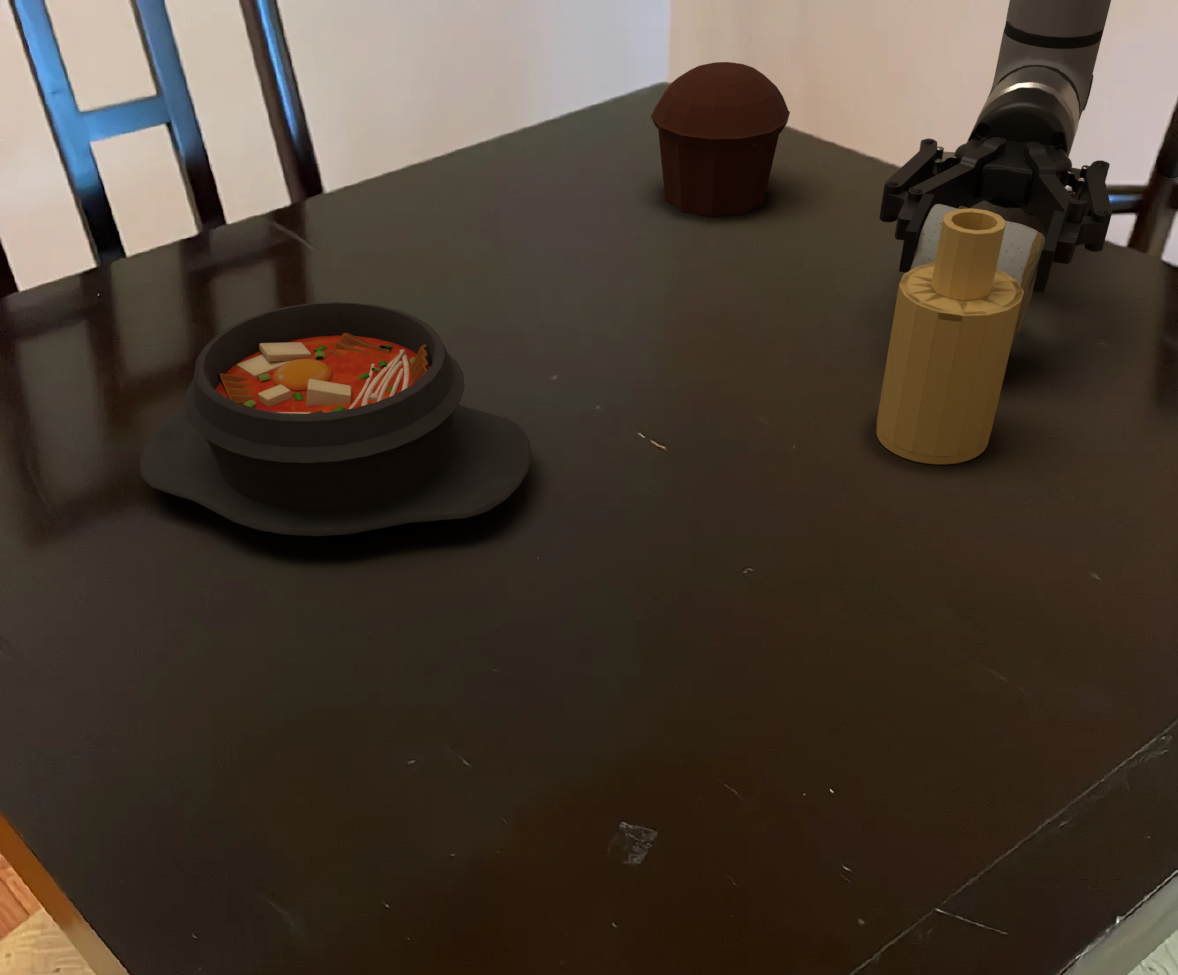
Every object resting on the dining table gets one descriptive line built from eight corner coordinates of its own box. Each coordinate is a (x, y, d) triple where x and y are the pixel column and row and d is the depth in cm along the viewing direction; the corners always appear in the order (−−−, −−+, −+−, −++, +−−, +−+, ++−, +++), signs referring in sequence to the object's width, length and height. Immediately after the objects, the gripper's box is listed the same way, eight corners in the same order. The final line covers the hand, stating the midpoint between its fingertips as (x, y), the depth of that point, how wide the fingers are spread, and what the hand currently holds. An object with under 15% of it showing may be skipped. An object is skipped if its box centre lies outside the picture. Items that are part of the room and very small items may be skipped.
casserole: (558, 423, 91) (555, 301, 85) (496, 583, 79) (487, 454, 72) (210, 392, 94) (182, 273, 88) (97, 541, 82) (56, 415, 76)
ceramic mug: (1013, 361, 91) (1041, 246, 85) (894, 341, 93) (914, 227, 87) (1036, 297, 98) (1063, 187, 92) (924, 280, 100) (945, 171, 94)
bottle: (995, 418, 91) (1045, 205, 81) (979, 473, 86) (1029, 254, 76) (888, 400, 93) (923, 189, 83) (865, 453, 88) (900, 236, 78)
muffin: (691, 233, 112) (697, 102, 105) (625, 187, 119) (627, 62, 111) (808, 204, 116) (822, 76, 108) (737, 162, 122) (746, 39, 115)
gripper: (1148, 209, 103) (1122, 342, 88) (878, 174, 108) (811, 294, 93) (1180, 102, 97) (1158, 225, 83) (893, 70, 102) (825, 181, 88)
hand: (974, 261), depth 88 cm, fingers closed on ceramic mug, 8 cm apart
